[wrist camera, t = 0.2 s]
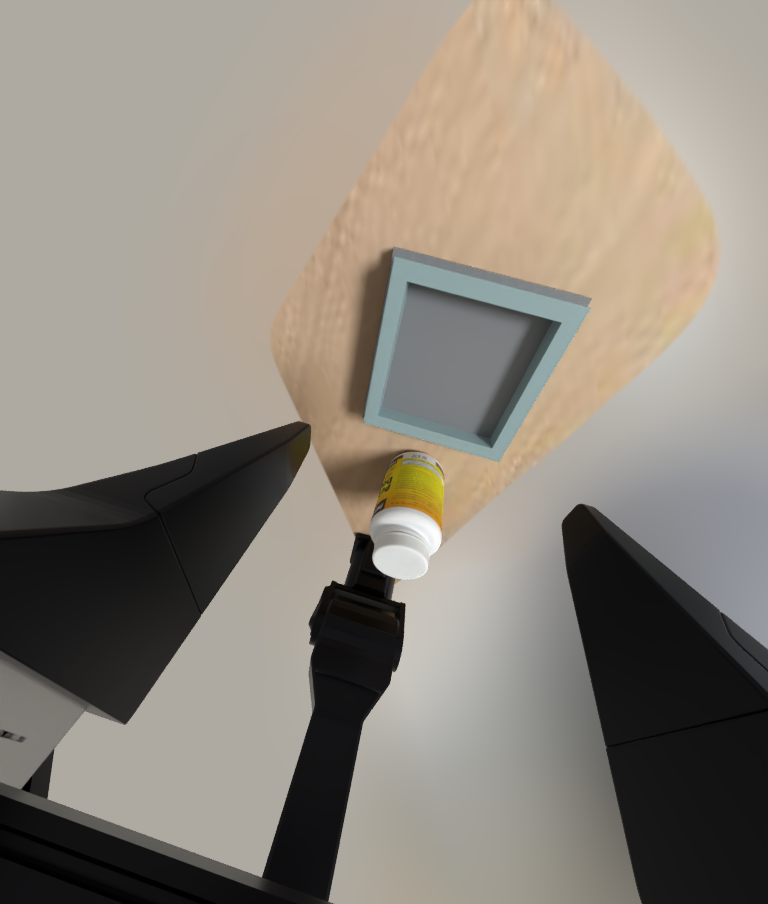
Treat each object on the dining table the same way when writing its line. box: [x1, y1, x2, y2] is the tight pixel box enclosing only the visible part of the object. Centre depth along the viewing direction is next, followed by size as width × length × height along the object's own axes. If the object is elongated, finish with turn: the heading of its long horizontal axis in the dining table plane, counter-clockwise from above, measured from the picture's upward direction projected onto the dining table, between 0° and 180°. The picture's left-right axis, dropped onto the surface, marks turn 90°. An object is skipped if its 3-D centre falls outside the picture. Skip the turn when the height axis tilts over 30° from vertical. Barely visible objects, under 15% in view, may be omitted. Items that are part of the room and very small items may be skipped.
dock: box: [363, 247, 592, 462], centre depth 20 cm, size 12×12×2 cm
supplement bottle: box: [370, 452, 444, 580], centre depth 23 cm, size 6×6×10 cm
